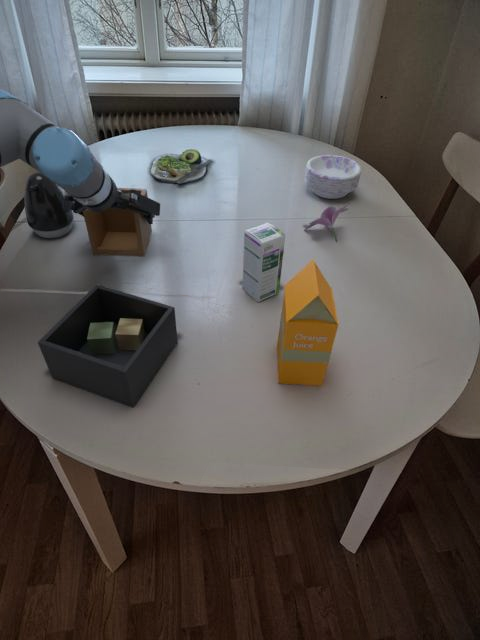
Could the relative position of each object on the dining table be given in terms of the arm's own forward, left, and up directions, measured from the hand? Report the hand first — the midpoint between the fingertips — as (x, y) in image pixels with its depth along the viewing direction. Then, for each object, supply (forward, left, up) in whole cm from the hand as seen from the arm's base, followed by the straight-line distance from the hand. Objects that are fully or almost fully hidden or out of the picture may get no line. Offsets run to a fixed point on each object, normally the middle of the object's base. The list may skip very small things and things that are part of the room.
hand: (121, 217), depth 99 cm
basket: (+19, -33, -6) cm, 39 cm away
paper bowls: (+40, +46, -7) cm, 61 cm away
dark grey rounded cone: (-17, -4, -6) cm, 19 cm away
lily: (+44, +23, -7) cm, 50 cm away
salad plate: (-5, +40, -6) cm, 41 cm away
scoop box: (+1, -2, -6) cm, 7 cm away
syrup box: (+36, -5, -7) cm, 37 cm away
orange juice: (+49, -22, -7) cm, 54 cm away
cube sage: (+16, -34, -4) cm, 37 cm away
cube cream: (+20, -31, -4) cm, 37 cm away
